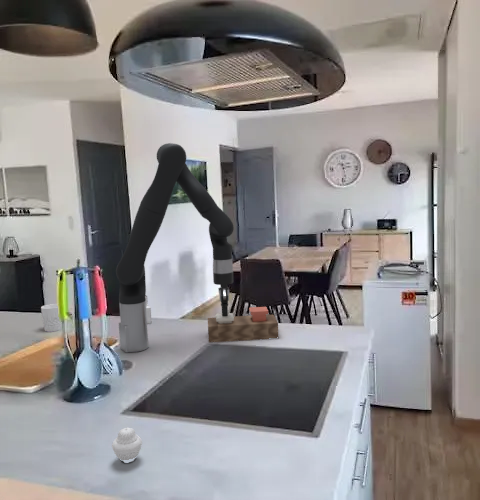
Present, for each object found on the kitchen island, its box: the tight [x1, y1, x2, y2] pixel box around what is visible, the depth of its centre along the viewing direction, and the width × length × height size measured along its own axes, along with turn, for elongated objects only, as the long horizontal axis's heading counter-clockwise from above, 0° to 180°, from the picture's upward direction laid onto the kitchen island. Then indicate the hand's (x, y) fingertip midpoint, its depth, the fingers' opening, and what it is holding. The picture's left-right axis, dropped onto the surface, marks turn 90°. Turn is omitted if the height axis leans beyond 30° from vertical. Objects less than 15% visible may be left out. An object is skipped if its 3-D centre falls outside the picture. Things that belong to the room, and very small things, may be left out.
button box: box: [207, 314, 279, 343], centre depth 182 cm, size 26×12×6 cm, turn 94°
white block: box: [215, 312, 235, 324], centre depth 182 cm, size 7×7×6 cm
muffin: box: [111, 427, 143, 460], centre depth 101 cm, size 6×6×7 cm
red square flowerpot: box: [248, 306, 269, 322], centre depth 182 cm, size 7×7×6 cm
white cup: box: [40, 303, 62, 333], centre depth 198 cm, size 8×8×10 cm
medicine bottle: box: [146, 295, 153, 325], centre depth 204 cm, size 7×7×12 cm
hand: (224, 315), depth 181 cm, fingers closed
